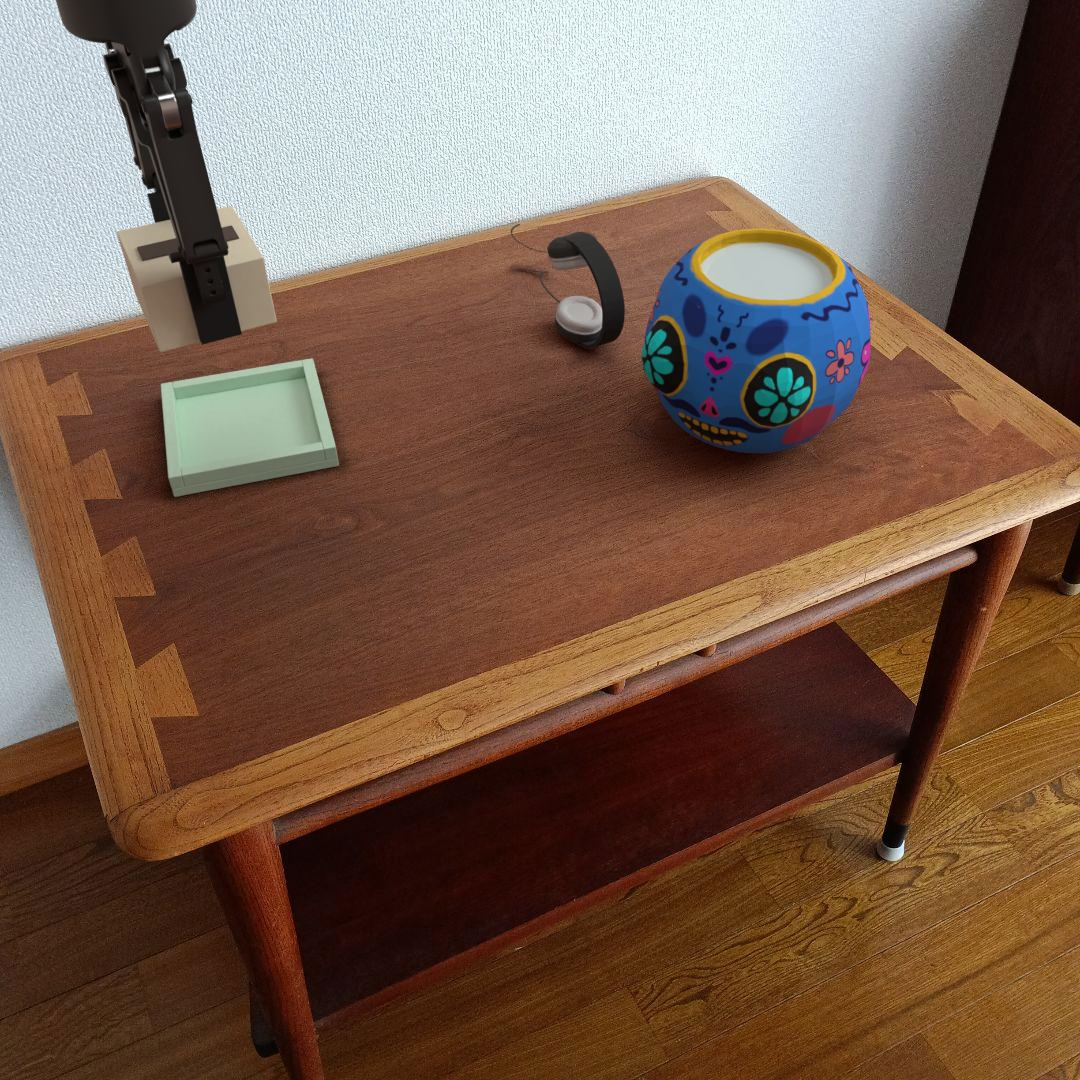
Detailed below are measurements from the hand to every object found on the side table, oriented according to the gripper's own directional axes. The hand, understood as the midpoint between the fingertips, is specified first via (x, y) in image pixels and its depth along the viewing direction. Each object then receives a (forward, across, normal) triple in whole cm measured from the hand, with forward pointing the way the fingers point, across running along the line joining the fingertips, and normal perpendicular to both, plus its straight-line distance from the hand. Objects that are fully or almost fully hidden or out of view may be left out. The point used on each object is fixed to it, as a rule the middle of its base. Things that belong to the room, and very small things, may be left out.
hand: (204, 305), depth 77 cm
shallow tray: (+16, +6, -2) cm, 17 cm away
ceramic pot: (+16, -12, -39) cm, 44 cm away
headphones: (+17, +10, -33) cm, 38 cm away
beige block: (0, 0, 0) cm, 0 cm away
